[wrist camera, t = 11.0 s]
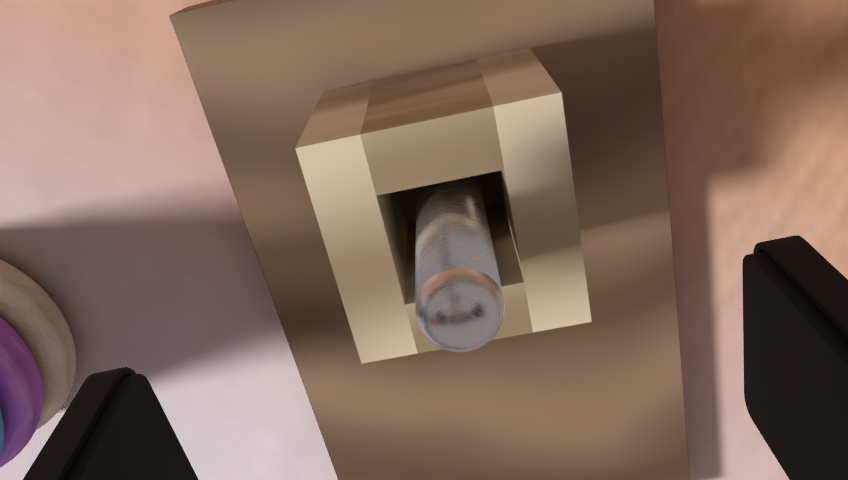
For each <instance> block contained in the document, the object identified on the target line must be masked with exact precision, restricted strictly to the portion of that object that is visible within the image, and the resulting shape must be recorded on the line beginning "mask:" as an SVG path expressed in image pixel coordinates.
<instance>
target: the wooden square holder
mask: <svg viewBox="0 0 848 480" xmlns="http://www.w3.org/2000/svg"><path fill="white" fill-rule="evenodd" d="M295 149H296V153H297V156H298V159H299V162H300V166H301V169H302V172H303V175H304V179H305V182H306V185H307V188H308V192H309V195H310V198H311V201H312V205H313V208H314V211H315V214H316V218H317V221H318V224H319V227H320V231H321V234H322V237H323V240H324V244H325V247H326V250H327V253H328V257H329V260H330V263H331V266H332V270H333V273H334V276H335V279H336V283H337V286H338V289H339V292H340V296H341V299H342V302H343V305H344V309H345V312H346V315H347V318H348V322H349V325H350V328H351V331H352V335H353V338H354V341H355V344H356V348H357V351H358V354H359V357H360V361H361V364H363V363H368V362H374V361H379V360H385V359H390V358H396V357H401V356H407V355H412V354H418V353H423V352H429V351H434V350H440V349H442V348H439V347H438V346H436V345H435V344H433V343H432V342H431V341H429V340H428V339H427V337H426V336H425V335H424V334H423V332H422V331H421V329H420V327H419V325H418V322H417V319H416V314H415V250H416V220H413V221H408V220H407V216H406V212H405V208H404V204H403V200H402V196H401V192H400V191H402V190H407V189H412V188H417V187H422V186H427V185H432V184H437V183H441V182H446V181H451V180H456V179H461V178H466V177H471V176H476V175H481V174H486V173H491V172H496V171H497V174H498V180H499V185H500V191H501V196H502V202H503V203H499V204H494V205H489V206H485V210H486V215H487V220H488V225H489V230H490V234H491V239H492V244H493V249H494V253H495V258H496V263H497V268H498V273H499V277H500V282H501V287H502V292H503V296H504V303H505V313H504V318H503V322H502V325H501V327H500V329H499V331H498V332H497V334H496V335H495V336H494V337H493V338H492V340H495V339H500V338H506V337H511V336H517V335H522V334H528V333H533V332H539V331H544V330H550V329H555V328H561V327H566V326H572V325H577V324H583V323H588V322H592V320H591V313H590V305H589V297H588V290H587V282H586V275H585V267H584V259H583V252H582V244H581V237H580V229H579V221H578V214H577V206H576V198H575V191H574V183H573V176H572V168H571V160H570V153H569V145H568V137H567V130H566V122H565V115H564V107H563V99H562V92H561V91H560V89H559V88H558V87H557V85H556V84H555V82H554V81H553V80H552V78H551V77H550V75H549V74H548V73H547V71H546V70H545V68H544V67H543V66H542V64H541V63H540V61H539V60H538V59H537V57H536V56H535V54H534V53H533V52H532V50H531V49H530V47H529V48H524V49H520V50H515V51H511V52H506V53H501V54H497V55H492V56H487V57H483V58H478V59H474V60H469V61H464V62H460V63H455V64H451V65H446V66H441V67H437V68H432V69H427V70H423V71H418V72H414V73H409V74H404V75H400V76H395V77H391V78H386V79H381V80H377V81H372V82H367V83H363V84H358V85H354V86H349V87H344V88H340V89H335V90H331V91H326V92H322V94H321V96H320V98H319V100H318V102H317V104H316V106H315V109H314V111H313V113H312V115H311V117H310V119H309V121H308V123H307V125H306V127H305V129H304V131H303V133H302V135H301V137H300V139H299V141H298V143H297V145H296V148H295Z"/></svg>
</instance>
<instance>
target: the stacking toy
mask: <svg viewBox="0 0 848 480" xmlns="http://www.w3.org/2000/svg"><path fill="white" fill-rule="evenodd" d="M75 373H76V350H75V345H74V341H73V337H72V334H71V331H70V329H69V326H68V324H67V322H66V320H65V318H64V316H63V315H62V313H61V311H60V310H59V308H58V307H57V305H56V304H55V303H54V301H53V300H52V299H51V298H50V296H49V295H48V294H47V293H46V292H45V291H44V290H43V289H42V288H41V287H40V286H39V285H38V284H37V283H36V282H35V281H34V280H32V279H31V278H30V277H28V276H27V275H26V274H24V273H23V272H21V271H20V270H18V269H17V268H15V267H14V266H12V265H10V264H8V263H7V262H5V261H3V260H1V259H0V467H2V466H4V465H5V464H6V463H8V462H9V461H10V460H12V459H13V458H14V457H15V456H16V455H17V454H18V453H19V452H21V450H22V449H23V448H24V447H25V446H26V445H27V443H28V442H29V440H30V439H31V437H32V436H33V434H34V432H35V431H36V430H37V429H38V428H40V427H41V426H43V425H44V424H45V423H47V422H48V421H49V420H50V419H51V418H52V417H53V416H54V415H55V414H56V413H57V412H58V411H59V410H60V408H61V407H62V406H63V404H64V403H65V401H66V400H67V398H68V396H69V394H70V391H71V389H72V386H73V383H74V379H75Z"/></svg>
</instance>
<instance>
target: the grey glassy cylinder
mask: <svg viewBox="0 0 848 480" xmlns="http://www.w3.org/2000/svg"><path fill="white" fill-rule="evenodd" d="M504 313H505V303H504V296H503V292H502V287H501V282H500V277H499V273H498V268H497V263H496V258H495V253H494V249H493V244H492V239H491V234H490V230H489V225H488V220H487V215H486V210H485V206H484V201H483V196H482V191H481V187H480V182H479V177H478V175H476V176H471V177H466V178H461V179H456V180H451V181H446V182H441V183H437V184H432V185H427V186H422V187H417V188H416V250H415V314H416V319H417V322H418V325H419V327H420V329H421V331H422V332H423V334H424V335H425V336H426V337H427V339H428V340H429V341H431V342H432V343H433V344H435V345H436V346H438V347H439V348H442V349H444V350H447V351H451V352H469V351H473V350H476V349H479V348H481V347H483V346H484V345H486V344H487V343H488V342H489V341H491V340H492V338H493V337H494V336H495V335H496V334H497V332H498V331H499V329H500V327H501V325H502V322H503V318H504Z"/></svg>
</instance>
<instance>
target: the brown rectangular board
mask: <svg viewBox="0 0 848 480" xmlns="http://www.w3.org/2000/svg"><path fill="white" fill-rule="evenodd" d="M170 19H171V22H172V24H173V27H174V30H175V33H176V35H177V38H178V41H179V44H180V46H181V49H182V52H183V55H184V57H185V60H186V63H187V66H188V68H189V71H190V74H191V77H192V79H193V82H194V85H195V88H196V90H197V93H198V96H199V99H200V101H201V104H202V107H203V109H204V112H205V115H206V118H207V120H208V123H209V126H210V129H211V131H212V134H213V137H214V140H215V142H216V145H217V148H218V151H219V153H220V156H221V159H222V162H223V164H224V167H225V170H226V173H227V175H228V178H229V181H230V184H231V186H232V189H233V192H234V195H235V197H236V200H237V203H238V206H239V208H240V211H241V214H242V217H243V219H244V222H245V225H246V228H247V230H248V233H249V236H250V239H251V241H252V244H253V247H254V250H255V252H256V255H257V258H258V261H259V263H260V266H261V269H262V272H263V274H264V277H265V280H266V283H267V285H268V288H269V291H270V294H271V296H272V299H273V302H274V305H275V307H276V310H277V313H278V316H279V318H280V321H281V324H282V327H283V329H284V332H285V335H286V338H287V340H288V343H289V346H290V349H291V351H292V354H293V357H294V360H295V362H296V365H297V368H298V371H299V373H300V376H301V379H302V381H303V384H304V387H305V390H306V392H307V395H308V398H309V401H310V403H311V406H312V409H313V412H314V414H315V417H316V420H317V423H318V425H319V428H320V431H321V434H322V436H323V439H324V442H325V445H326V447H327V450H328V453H329V456H330V458H331V461H332V464H333V467H334V469H335V472H336V475H337V478H338V480H690V475H689V461H688V448H687V435H686V422H685V408H684V395H683V382H682V369H681V355H680V342H679V329H678V316H677V303H676V289H675V276H674V263H673V250H672V236H671V223H670V210H669V197H668V183H667V170H666V157H665V144H664V131H663V117H662V104H661V91H660V78H659V64H658V51H657V38H656V25H655V12H654V0H216V1H212V2H208V3H204V4H199V5H195V6H191V7H187V8H184V9H182V10H180V11H178V12H176V13H174V14H172V15H170ZM529 47H530V49H531V50H532V52H533V53H534V54H535V56H536V57H537V59H538V60H539V61H540V63H541V64H542V66H543V67H544V68H545V70H546V71H547V73H548V74H549V75H550V77H551V78H552V80H553V81H554V82H555V84H556V85H557V87H558V88H559V89H560V91H561V92H562V99H563V107H564V115H565V122H566V130H567V137H568V145H569V153H570V160H571V168H572V176H573V183H574V191H575V198H576V206H577V214H578V221H579V229H580V237H581V244H582V252H583V259H584V267H585V275H586V282H587V290H588V297H589V305H590V313H591V320H592V322H588V323H583V324H577V325H572V326H566V327H561V328H555V329H550V330H544V331H539V332H533V333H528V334H522V335H517V336H511V337H506V338H500V339H495V340H491V341H489V342H488V343H487V344H486V345H484V346H483V347H481V348H479V349H476V350H473V351H469V352H451V351H447V350H444V349H440V350H434V351H429V352H423V353H418V354H412V355H407V356H401V357H396V358H390V359H385V360H379V361H374V362H368V363H363V364H361V361H360V357H359V354H358V351H357V348H356V344H355V341H354V338H353V335H352V331H351V328H350V325H349V322H348V318H347V315H346V312H345V309H344V305H343V302H342V299H341V296H340V292H339V289H338V286H337V283H336V279H335V276H334V273H333V270H332V266H331V263H330V260H329V257H328V253H327V250H326V247H325V244H324V240H323V237H322V234H321V231H320V227H319V224H318V221H317V218H316V214H315V211H314V208H313V205H312V201H311V198H310V195H309V192H308V188H307V185H306V182H305V179H304V175H303V172H302V169H301V166H300V162H299V159H298V156H297V153H296V149H295V148H296V145H297V143H298V141H299V139H300V137H301V135H302V133H303V131H304V129H305V127H306V125H307V123H308V121H309V119H310V117H311V115H312V113H313V111H314V109H315V106H316V104H317V102H318V100H319V98H320V96H321V94H322V92H326V91H331V90H335V89H340V88H344V87H349V86H354V85H358V84H363V83H367V82H372V81H377V80H381V79H386V78H391V77H395V76H400V75H404V74H409V73H414V72H418V71H423V70H427V69H432V68H437V67H441V66H446V65H451V64H455V63H460V62H464V61H469V60H474V59H478V58H483V57H487V56H492V55H497V54H501V53H506V52H511V51H515V50H520V49H524V48H529ZM478 177H479V182H480V187H481V191H482V196H483V201H484V206H489V205H494V204H499V203H503V202H502V196H501V191H500V185H499V180H498V174H497V171H496V172H491V173H486V174H481V175H478ZM400 192H401V196H402V200H403V204H404V208H405V212H406V216H407V220H408V221H413V220H416V188H412V189H407V190H402V191H400Z"/></svg>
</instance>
